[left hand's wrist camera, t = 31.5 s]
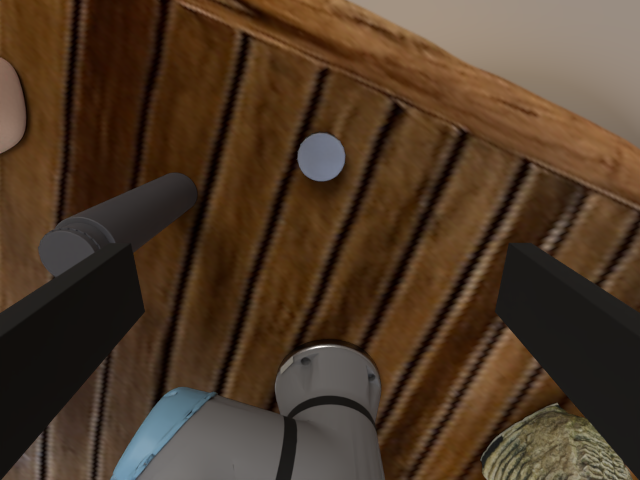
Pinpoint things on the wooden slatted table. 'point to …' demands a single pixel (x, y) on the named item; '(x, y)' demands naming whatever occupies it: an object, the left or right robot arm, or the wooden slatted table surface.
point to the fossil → (552, 450)
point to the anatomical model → (10, 107)
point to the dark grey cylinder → (118, 221)
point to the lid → (321, 156)
